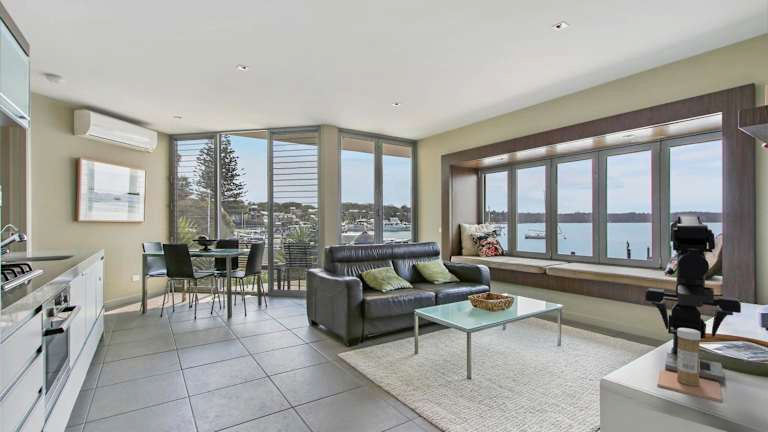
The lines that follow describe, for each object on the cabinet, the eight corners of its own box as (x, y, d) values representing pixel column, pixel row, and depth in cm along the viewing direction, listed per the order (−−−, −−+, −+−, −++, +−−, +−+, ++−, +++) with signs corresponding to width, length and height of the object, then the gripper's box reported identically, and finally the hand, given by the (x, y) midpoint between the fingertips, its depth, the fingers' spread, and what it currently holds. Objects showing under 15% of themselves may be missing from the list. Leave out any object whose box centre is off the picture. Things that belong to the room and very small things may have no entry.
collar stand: (667, 359, 112) (667, 352, 112) (720, 370, 104) (721, 363, 104) (665, 371, 102) (665, 364, 102) (723, 384, 95) (724, 376, 95)
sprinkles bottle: (702, 384, 93) (703, 330, 93) (695, 388, 91) (696, 333, 91) (680, 377, 97) (681, 326, 97) (673, 381, 95) (674, 328, 95)
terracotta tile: (660, 371, 102) (660, 369, 102) (718, 384, 95) (718, 382, 95) (657, 386, 93) (657, 383, 93) (722, 402, 85) (722, 399, 85)
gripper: (644, 272, 96) (642, 332, 96) (744, 281, 84) (742, 349, 84) (647, 267, 105) (646, 322, 105) (739, 275, 93) (737, 337, 93)
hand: (689, 332), depth 96 cm, fingers open, 9 cm apart
